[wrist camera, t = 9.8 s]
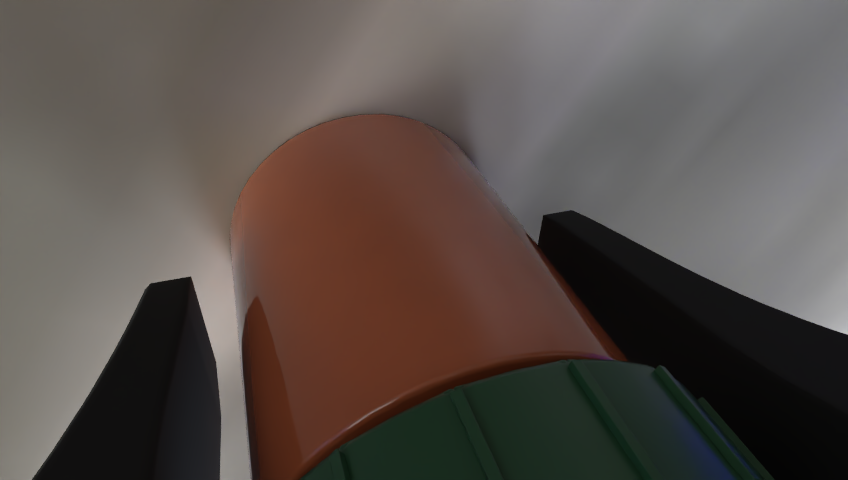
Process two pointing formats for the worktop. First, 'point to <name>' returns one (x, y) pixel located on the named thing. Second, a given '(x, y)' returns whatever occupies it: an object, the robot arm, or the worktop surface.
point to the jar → (382, 287)
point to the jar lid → (552, 431)
